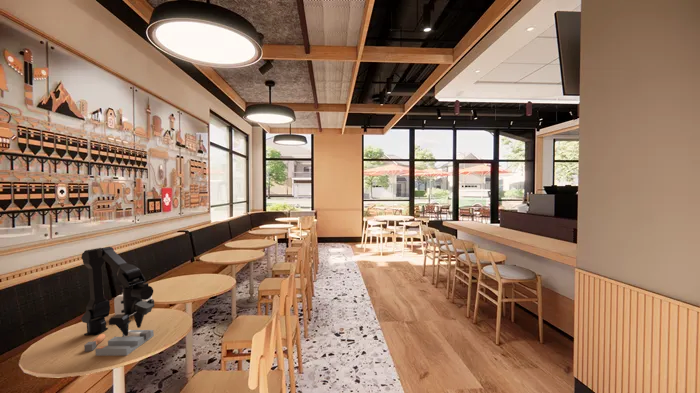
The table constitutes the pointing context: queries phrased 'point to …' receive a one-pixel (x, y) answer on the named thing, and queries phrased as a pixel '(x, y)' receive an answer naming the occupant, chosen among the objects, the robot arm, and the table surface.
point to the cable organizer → (120, 306)
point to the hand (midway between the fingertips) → (132, 331)
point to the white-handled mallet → (140, 334)
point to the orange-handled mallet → (94, 343)
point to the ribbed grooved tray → (122, 345)
